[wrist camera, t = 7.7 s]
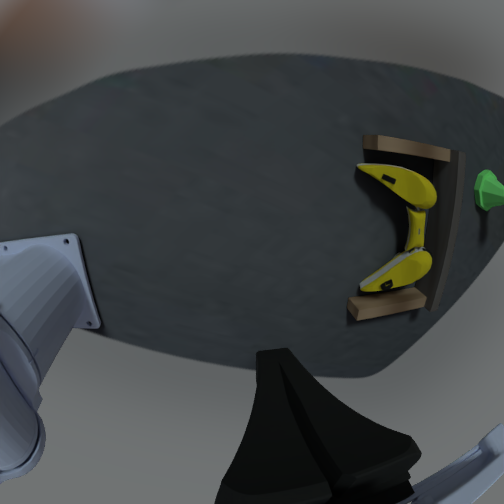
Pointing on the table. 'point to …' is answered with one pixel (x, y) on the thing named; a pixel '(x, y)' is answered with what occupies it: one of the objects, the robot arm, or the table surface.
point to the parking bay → (437, 235)
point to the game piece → (488, 191)
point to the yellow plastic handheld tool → (415, 255)
